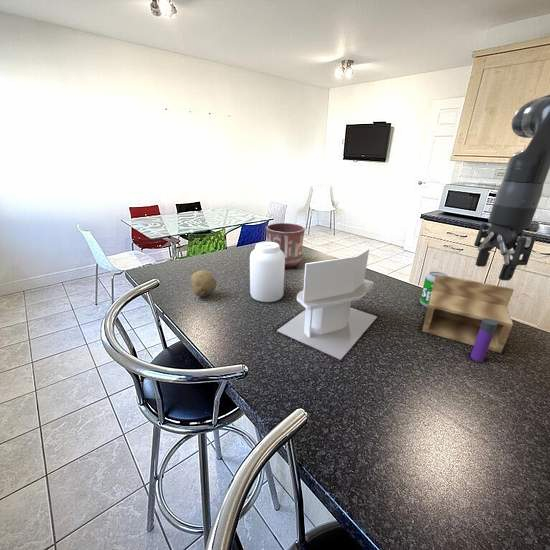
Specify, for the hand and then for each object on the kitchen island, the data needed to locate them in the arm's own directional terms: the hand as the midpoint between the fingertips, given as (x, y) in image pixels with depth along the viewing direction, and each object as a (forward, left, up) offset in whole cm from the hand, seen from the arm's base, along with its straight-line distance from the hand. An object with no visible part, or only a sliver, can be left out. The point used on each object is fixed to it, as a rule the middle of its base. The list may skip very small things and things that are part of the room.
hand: (491, 272), depth 69 cm
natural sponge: (+83, +11, -25) cm, 87 cm away
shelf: (+1, -13, -25) cm, 28 cm away
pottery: (+74, -34, -25) cm, 85 cm away
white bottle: (+64, -2, -25) cm, 68 cm away
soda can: (+10, -27, -25) cm, 38 cm away
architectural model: (+37, +4, -25) cm, 44 cm away
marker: (-3, -1, -25) cm, 25 cm away
